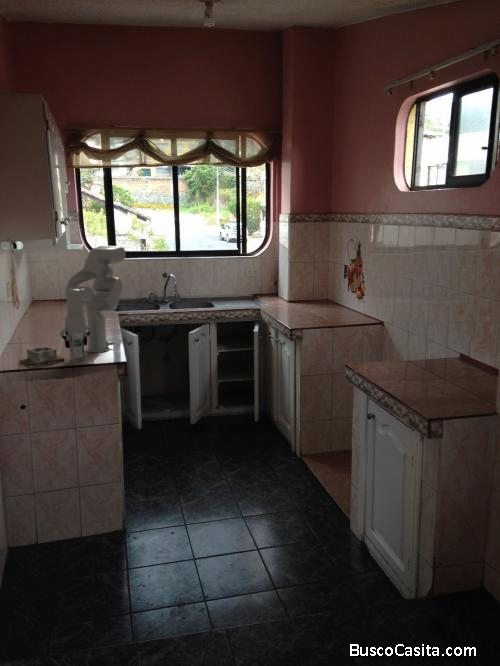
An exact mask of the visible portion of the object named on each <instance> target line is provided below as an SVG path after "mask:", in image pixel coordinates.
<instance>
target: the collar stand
mask: <svg viewBox="0 0 500 666" xmlns="http://www.w3.org/2000/svg"><path fill="white" fill-rule="evenodd" d="M26 357H27V358H23V359H19V360H18V361H19V364H21V365H23V364H24V366H26V365H27V366H26V367H28V366H36V367H38V366H37V365H41V366H44V365H43V364H47V365H49V364H48V363H52V364H56V363H55V362H58V363H62V362H61V361H63V362H65V357H63V356H59V355H58V354H57V349H55V348H52V347H50V346H47V345H44V346H39V347H34V348H33V347H32V348H27V349H26Z"/></svg>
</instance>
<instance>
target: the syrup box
mask: <svg viewBox="0 0 500 666" xmlns="http://www.w3.org/2000/svg"><path fill="white" fill-rule="evenodd" d="M69 341H70V348H69V359H71V360H70V361H72V360H73V361H72V362H74V361H75V362H78V361H77V360H83V361H85V360H84V359H86V358H85V345H84V336H83V333H77V334H74V335H73V336H71V337H70V338H69Z"/></svg>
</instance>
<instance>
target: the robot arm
mask: <svg viewBox="0 0 500 666" xmlns="http://www.w3.org/2000/svg"><path fill="white" fill-rule="evenodd" d="M125 258H126V249H125V248H124V247H123V246H120V245H99V246H96V247H93V248H91V249H90V251H89V253H88V254H87V257H86V260H85V262H84V264H83V268H82V269H80V270H79V271H77V272H76V273H75V274H74V275H72V276H71V277H70V278H69V280H68V282H67V285H66V287H65V291H64V296H65V299H66V312H67V313H66V316H65V319H64V328H63V329H62V330H61V331H59V335H60V336H61V338H62V339H63V341H64V346H65V348H67V349H70V341H69V338H70V337H71V336H73V335H74V334H77V333H83V337H84V347H85V346H87V347H85V352H88V353H92V352H98V353H105V352H104V351H106V352H108V351H110V347H109V346H113V345H114V346H115V342H114V341H107V332H106V331H107V328H106V317H105V314H104V313H103V312H114V311H115V310H116V309H117V308H118V305H119V301H120V298H121V296H122V295H121V294H122V291H123V281H122V279H121V278H119V277H117V276H113V275H114V269H113V267H112V266H111V265H114V264H115V265H116V264H118V263H122V262H123V261H124V260H125ZM91 280H93V284H92V288H91V287H88V286H80V285H81V284H83V283H85V282H88V281H91ZM83 302H84V306H85V309H84V306H83ZM84 313H86V317H87V321H86V318H85V315H84ZM86 322H87V325H86Z"/></svg>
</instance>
